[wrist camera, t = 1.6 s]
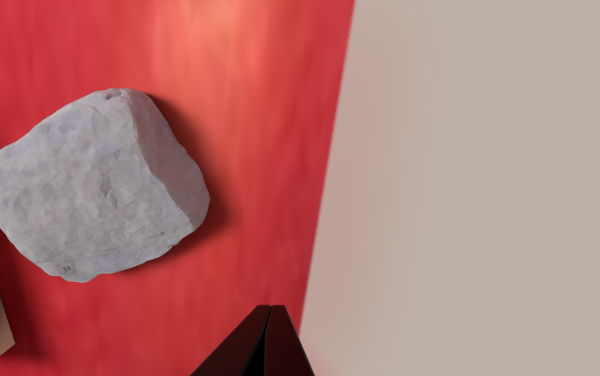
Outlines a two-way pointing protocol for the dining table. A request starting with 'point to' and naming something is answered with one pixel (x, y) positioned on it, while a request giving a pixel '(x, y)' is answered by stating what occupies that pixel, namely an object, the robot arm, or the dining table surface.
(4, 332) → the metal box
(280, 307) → the robot arm
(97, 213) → the stone block
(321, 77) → the dining table surface
